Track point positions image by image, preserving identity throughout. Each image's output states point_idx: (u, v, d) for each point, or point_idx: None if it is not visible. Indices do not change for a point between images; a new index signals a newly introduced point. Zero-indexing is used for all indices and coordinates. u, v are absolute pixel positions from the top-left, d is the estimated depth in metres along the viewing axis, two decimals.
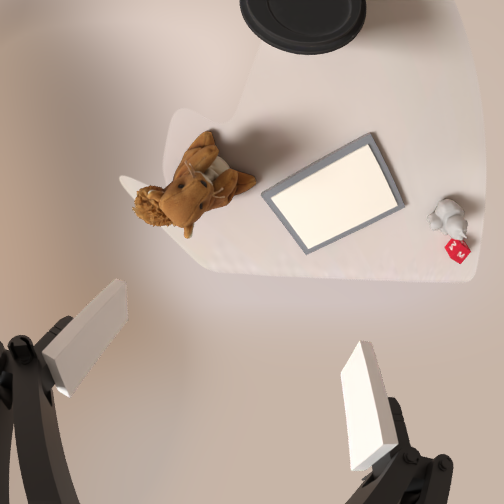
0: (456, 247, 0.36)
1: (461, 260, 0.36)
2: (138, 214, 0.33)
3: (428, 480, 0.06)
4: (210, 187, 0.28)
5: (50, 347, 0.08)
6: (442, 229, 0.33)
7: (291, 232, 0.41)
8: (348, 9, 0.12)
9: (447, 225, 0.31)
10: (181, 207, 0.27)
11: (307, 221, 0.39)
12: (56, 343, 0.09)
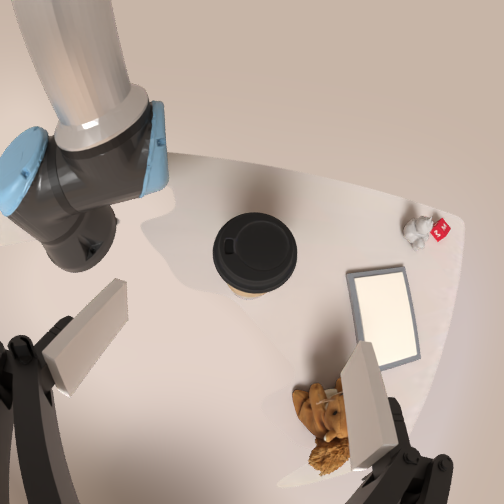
0: (438, 230, 0.47)
1: (448, 227, 0.47)
2: (330, 469, 0.26)
3: (428, 480, 0.06)
4: None
5: (50, 347, 0.08)
6: (424, 238, 0.45)
7: (400, 363, 0.39)
8: (276, 227, 0.30)
9: (421, 233, 0.43)
10: None
11: (396, 347, 0.40)
12: (56, 343, 0.09)
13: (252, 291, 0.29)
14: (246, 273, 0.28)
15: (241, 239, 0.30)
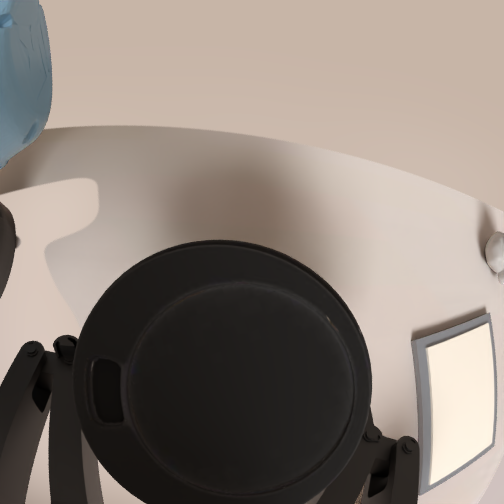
0: None
1: None
2: None
3: (393, 465, 0.07)
4: None
5: None
6: None
7: (470, 462, 0.15)
8: (304, 309, 0.07)
9: None
10: None
11: (470, 443, 0.16)
12: None
13: None
14: (177, 501, 0.05)
15: (151, 369, 0.06)
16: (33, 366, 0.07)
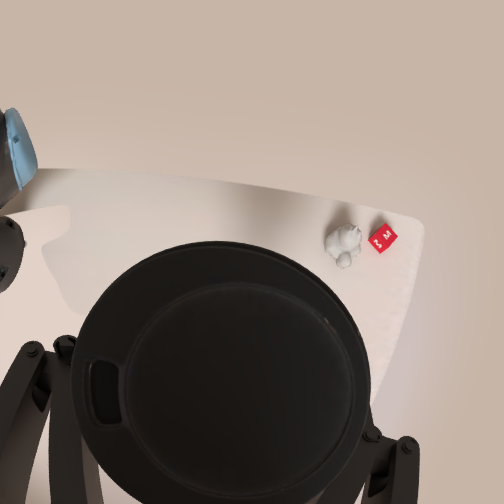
0: (379, 240, 0.40)
1: (393, 234, 0.40)
2: None
3: (393, 465, 0.07)
4: None
5: None
6: (352, 253, 0.38)
7: None
8: (302, 311, 0.07)
9: (345, 247, 0.37)
10: None
11: None
12: None
13: None
14: (175, 502, 0.05)
15: (148, 371, 0.06)
16: (33, 366, 0.07)
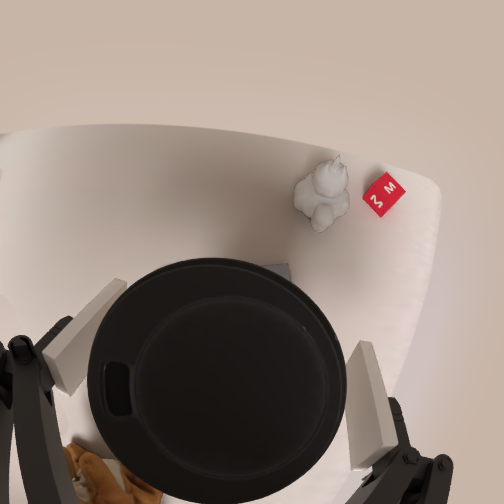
0: (378, 194, 0.27)
1: (399, 188, 0.26)
2: None
3: (428, 480, 0.06)
4: None
5: (50, 347, 0.08)
6: (336, 206, 0.24)
7: None
8: (284, 320, 0.08)
9: (322, 193, 0.23)
10: None
11: None
12: (56, 343, 0.09)
13: None
14: (177, 483, 0.06)
15: (155, 370, 0.07)
16: None
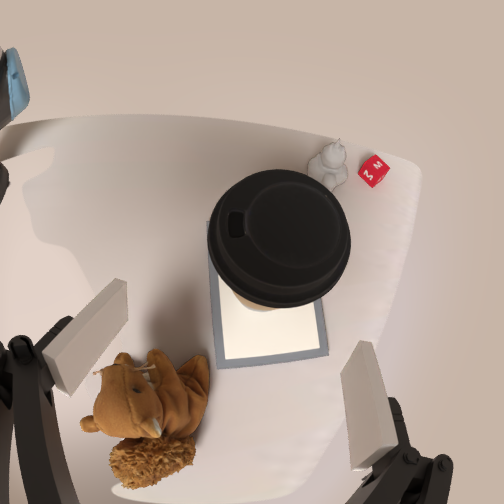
0: (369, 169, 0.36)
1: (385, 165, 0.36)
2: (124, 481, 0.15)
3: (428, 480, 0.06)
4: (127, 365, 0.18)
5: (50, 347, 0.08)
6: (338, 175, 0.34)
7: (286, 359, 0.28)
8: (316, 193, 0.17)
9: (328, 165, 0.32)
10: (108, 401, 0.15)
11: (278, 331, 0.29)
12: (56, 343, 0.09)
13: (278, 304, 0.16)
14: (269, 272, 0.15)
15: (257, 212, 0.17)
16: None
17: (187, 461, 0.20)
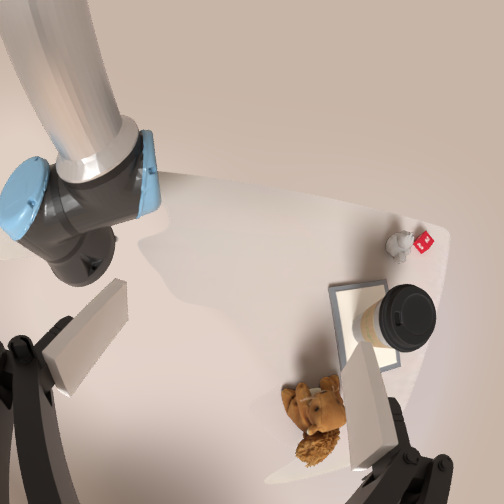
0: (421, 243, 0.51)
1: (431, 239, 0.50)
2: (314, 460, 0.30)
3: (428, 480, 0.06)
4: (328, 390, 0.33)
5: (50, 347, 0.08)
6: (406, 252, 0.48)
7: None
8: (424, 297, 0.32)
9: (403, 247, 0.47)
10: (332, 411, 0.29)
11: (376, 355, 0.43)
12: (56, 343, 0.09)
13: (409, 351, 0.31)
14: (411, 339, 0.30)
15: (404, 311, 0.31)
16: None
17: None
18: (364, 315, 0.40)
